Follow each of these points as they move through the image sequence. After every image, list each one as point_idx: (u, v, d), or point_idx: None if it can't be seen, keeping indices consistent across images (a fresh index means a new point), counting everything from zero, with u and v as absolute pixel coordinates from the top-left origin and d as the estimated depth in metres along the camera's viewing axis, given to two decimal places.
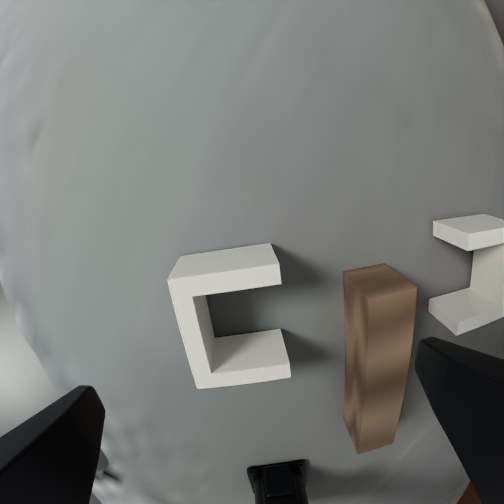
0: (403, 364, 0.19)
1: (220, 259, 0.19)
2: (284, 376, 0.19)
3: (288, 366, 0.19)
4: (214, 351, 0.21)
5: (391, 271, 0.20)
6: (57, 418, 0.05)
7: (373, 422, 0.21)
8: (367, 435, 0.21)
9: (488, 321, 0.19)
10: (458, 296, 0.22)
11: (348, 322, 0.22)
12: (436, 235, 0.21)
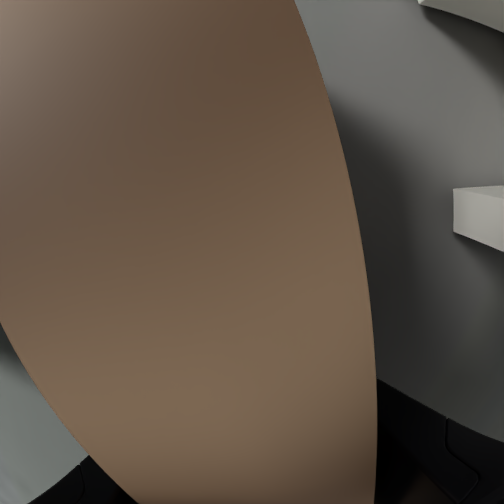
0: (336, 451, 0.03)
1: None
2: None
3: None
4: None
5: None
6: None
7: None
8: None
9: None
10: None
11: None
12: None
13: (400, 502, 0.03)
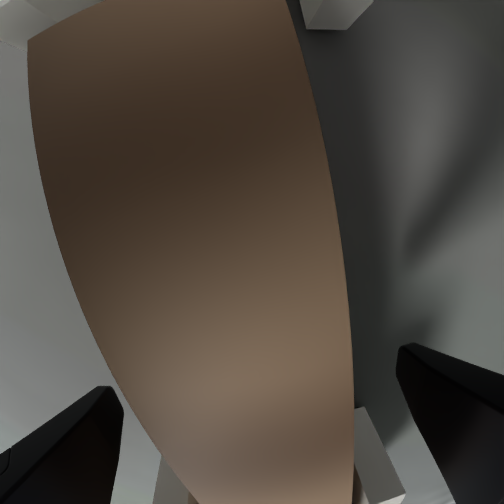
0: (321, 386, 0.04)
1: None
2: (398, 499, 0.06)
3: None
4: None
5: None
6: (78, 421, 0.05)
7: None
8: None
9: None
10: None
11: None
12: None
13: (484, 461, 0.03)
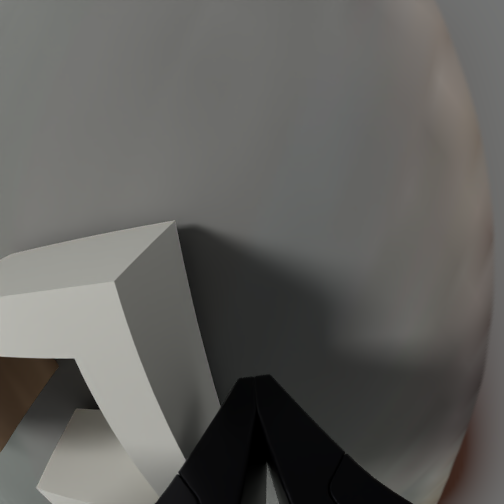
0: None
1: None
2: None
3: None
4: None
5: (34, 386, 0.08)
6: (251, 418, 0.05)
7: None
8: None
9: None
10: None
11: None
12: None
13: None
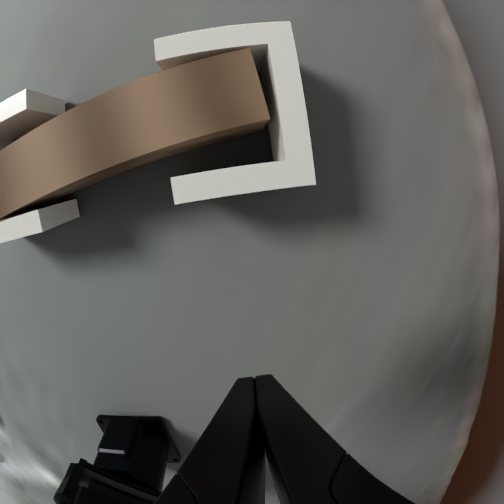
0: (132, 146, 0.12)
1: None
2: (36, 230, 0.13)
3: (37, 214, 0.13)
4: (7, 218, 0.15)
5: None
6: (250, 418, 0.05)
7: (30, 151, 0.12)
8: (7, 158, 0.12)
9: (259, 187, 0.13)
10: None
11: None
12: None
13: None
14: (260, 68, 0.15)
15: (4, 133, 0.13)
